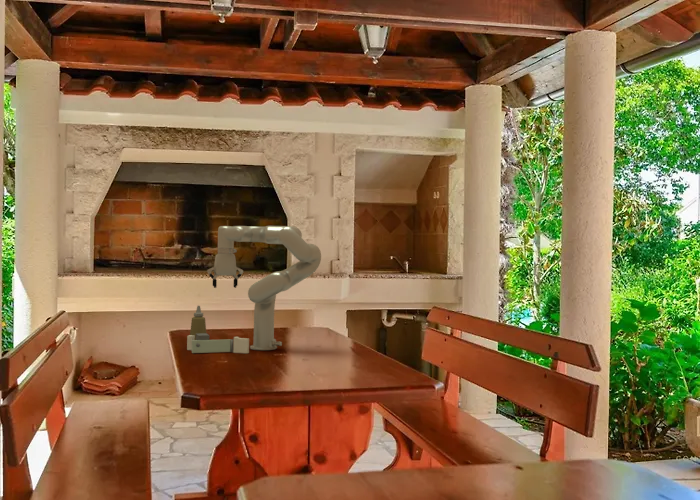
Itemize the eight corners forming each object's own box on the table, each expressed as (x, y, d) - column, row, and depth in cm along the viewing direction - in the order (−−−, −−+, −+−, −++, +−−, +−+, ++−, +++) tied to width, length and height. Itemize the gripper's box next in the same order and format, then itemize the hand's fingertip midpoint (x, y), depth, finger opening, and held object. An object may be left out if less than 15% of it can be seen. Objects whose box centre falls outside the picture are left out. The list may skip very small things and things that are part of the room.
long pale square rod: (232, 351, 346) (233, 339, 346) (233, 351, 344) (234, 339, 344) (191, 352, 340) (191, 340, 340) (192, 353, 338) (192, 341, 338)
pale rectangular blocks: (249, 352, 345) (249, 337, 345) (247, 353, 342) (247, 338, 342) (189, 349, 352) (189, 334, 352) (186, 349, 349) (187, 334, 349)
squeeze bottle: (208, 340, 380) (208, 305, 380) (203, 343, 372) (204, 306, 372) (192, 340, 381) (193, 304, 380) (187, 342, 373) (188, 306, 372)
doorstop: (206, 350, 349) (206, 333, 349) (209, 352, 342) (209, 335, 342) (195, 350, 347) (195, 333, 347) (198, 353, 341) (198, 335, 341)
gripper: (241, 251, 368) (240, 286, 369) (206, 251, 362) (205, 287, 362) (245, 252, 361) (244, 288, 362) (209, 251, 355) (208, 288, 355)
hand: (225, 287), depth 362 cm, fingers open, 9 cm apart
